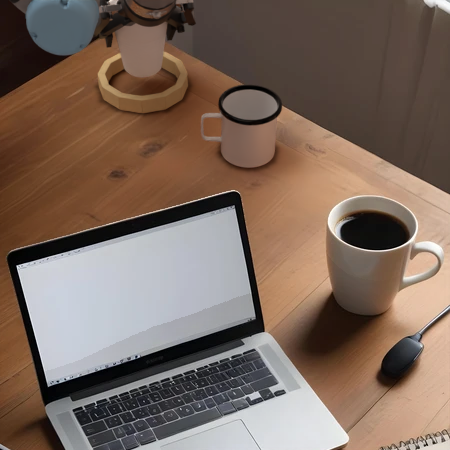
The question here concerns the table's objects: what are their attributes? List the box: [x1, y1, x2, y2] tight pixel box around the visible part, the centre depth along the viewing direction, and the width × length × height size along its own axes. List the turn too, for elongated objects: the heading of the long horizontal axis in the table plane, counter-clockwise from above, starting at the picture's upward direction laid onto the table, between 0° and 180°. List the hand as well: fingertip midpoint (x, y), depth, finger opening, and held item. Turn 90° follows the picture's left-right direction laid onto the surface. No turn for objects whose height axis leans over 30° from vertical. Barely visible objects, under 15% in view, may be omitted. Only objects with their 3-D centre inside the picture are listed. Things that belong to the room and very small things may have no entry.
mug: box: [200, 83, 283, 169], centre depth 126 cm, size 12×10×9 cm
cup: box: [108, 0, 168, 78], centre depth 133 cm, size 10×10×11 cm
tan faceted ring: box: [97, 51, 189, 114], centre depth 139 cm, size 14×14×2 cm
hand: (138, 35), depth 136 cm, fingers closed on cup, 9 cm apart
